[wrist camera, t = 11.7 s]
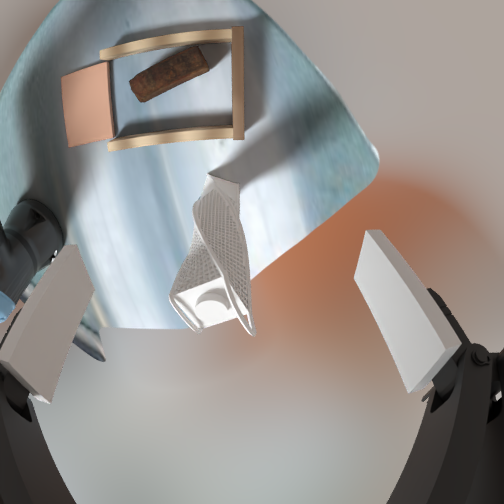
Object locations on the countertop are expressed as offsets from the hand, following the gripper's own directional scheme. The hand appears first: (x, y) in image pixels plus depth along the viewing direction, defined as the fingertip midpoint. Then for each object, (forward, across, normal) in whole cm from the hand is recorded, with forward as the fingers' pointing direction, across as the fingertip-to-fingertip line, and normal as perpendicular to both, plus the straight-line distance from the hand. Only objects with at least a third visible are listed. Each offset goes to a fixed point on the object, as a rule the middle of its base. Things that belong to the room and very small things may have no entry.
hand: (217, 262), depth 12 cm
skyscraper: (+33, -2, -10) cm, 35 cm away
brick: (+33, -9, +7) cm, 35 cm away
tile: (+33, -22, +8) cm, 40 cm away
